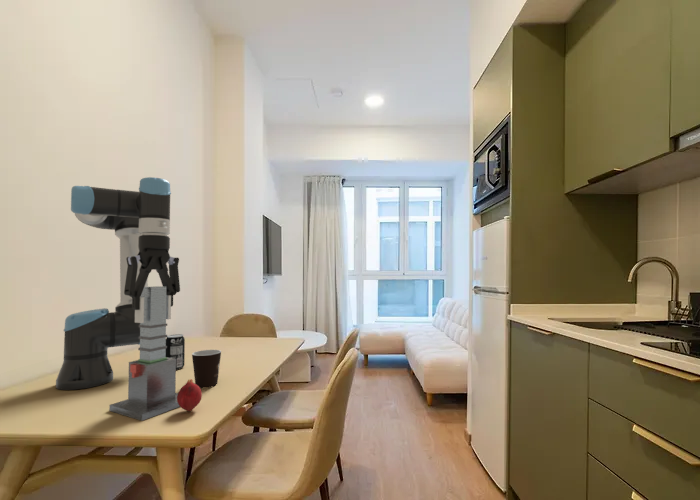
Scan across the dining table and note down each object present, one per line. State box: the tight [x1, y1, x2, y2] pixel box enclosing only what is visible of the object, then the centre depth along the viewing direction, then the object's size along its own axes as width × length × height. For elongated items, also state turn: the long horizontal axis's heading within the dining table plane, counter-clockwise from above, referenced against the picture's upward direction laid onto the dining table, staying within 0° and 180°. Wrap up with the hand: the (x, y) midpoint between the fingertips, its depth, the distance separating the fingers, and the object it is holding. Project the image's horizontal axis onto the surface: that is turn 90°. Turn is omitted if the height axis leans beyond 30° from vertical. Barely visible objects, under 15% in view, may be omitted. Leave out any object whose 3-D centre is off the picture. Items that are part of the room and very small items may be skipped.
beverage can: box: [166, 333, 186, 371], centre depth 137 cm, size 7×7×12 cm
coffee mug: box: [191, 349, 222, 389], centre depth 118 cm, size 12×9×10 cm
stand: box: [108, 357, 181, 421], centre depth 98 cm, size 14×14×12 cm
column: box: [137, 285, 168, 364], centre depth 99 cm, size 5×5×22 cm
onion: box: [177, 378, 203, 413], centre depth 94 cm, size 6×6×8 cm
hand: (153, 320), depth 99 cm, fingers open, 7 cm apart
